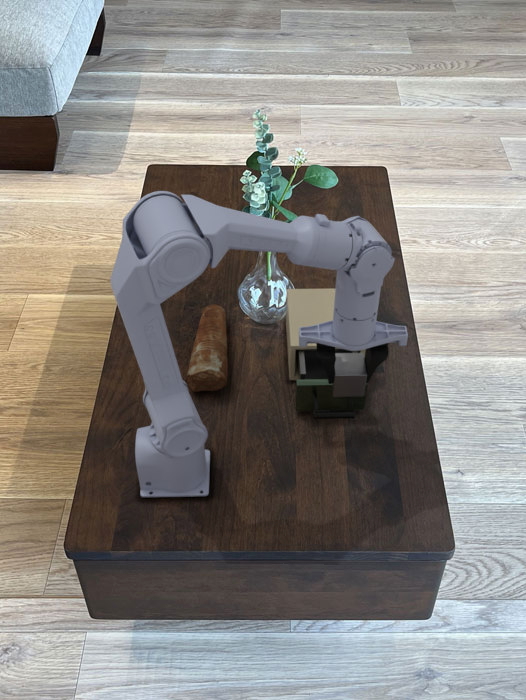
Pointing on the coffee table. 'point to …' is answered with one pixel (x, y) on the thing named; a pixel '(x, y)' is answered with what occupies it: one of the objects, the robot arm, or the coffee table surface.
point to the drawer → (321, 389)
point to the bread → (209, 352)
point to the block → (349, 375)
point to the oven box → (306, 318)
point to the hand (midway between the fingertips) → (348, 378)
